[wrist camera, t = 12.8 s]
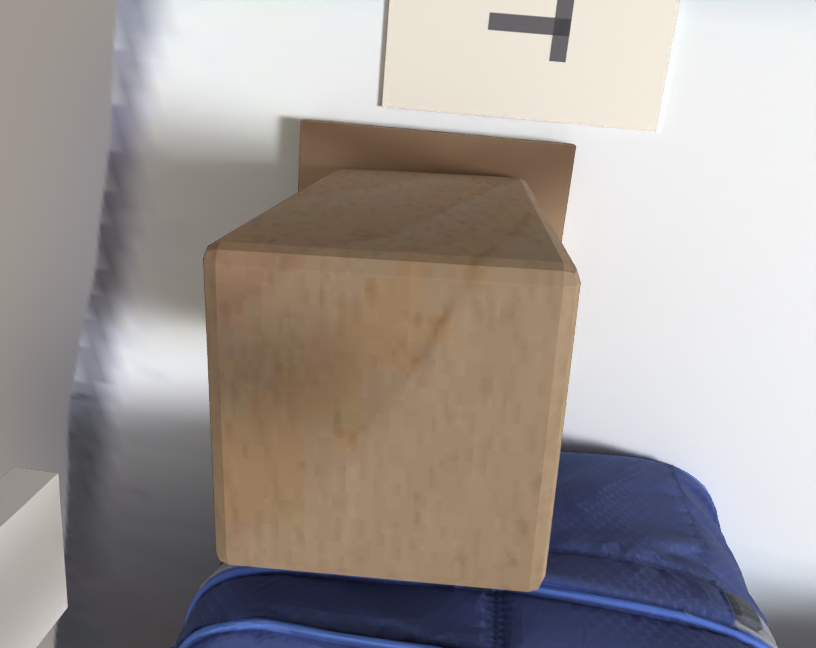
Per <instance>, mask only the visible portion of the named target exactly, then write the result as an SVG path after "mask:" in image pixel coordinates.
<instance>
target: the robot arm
mask: <svg viewBox="0 0 816 648" xmlns="http://www.w3.org/2000/svg"><path fill="white" fill-rule="evenodd" d="M67 608H68V604H67V590H66V575H65V561H64V547H63V532H62V518H61V504H60V491H59V475H58V473H54V472H47V471H38V470H32V469H24V468H16V467H14V468H13V469H12V470H10V471H9V472H8V473H7V474H6V475H4V476H3V477H2V478H1V479H0V648H37V646H38V645H39V644H40V642H41V641H42V640H43V638H44V637H45V636H46V635H47V633H48V632H49V631H50V629H51V628H52V627H53V626H54V625H55V623H56V622H57V621H58V619H59V618H60V617H61V616H62V614H63V613H64V612H65V610H66V609H67Z"/></svg>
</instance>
